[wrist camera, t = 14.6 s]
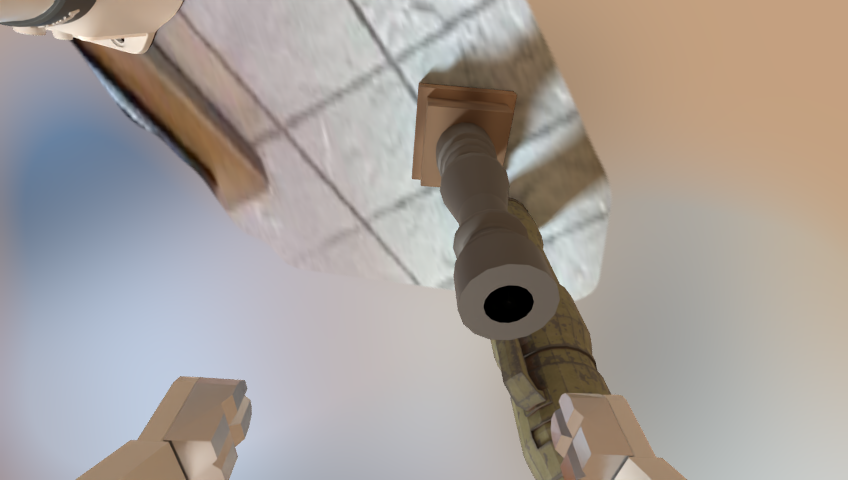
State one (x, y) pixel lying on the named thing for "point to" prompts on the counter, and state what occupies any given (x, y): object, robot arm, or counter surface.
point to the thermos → (546, 370)
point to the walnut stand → (453, 107)
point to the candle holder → (491, 242)
